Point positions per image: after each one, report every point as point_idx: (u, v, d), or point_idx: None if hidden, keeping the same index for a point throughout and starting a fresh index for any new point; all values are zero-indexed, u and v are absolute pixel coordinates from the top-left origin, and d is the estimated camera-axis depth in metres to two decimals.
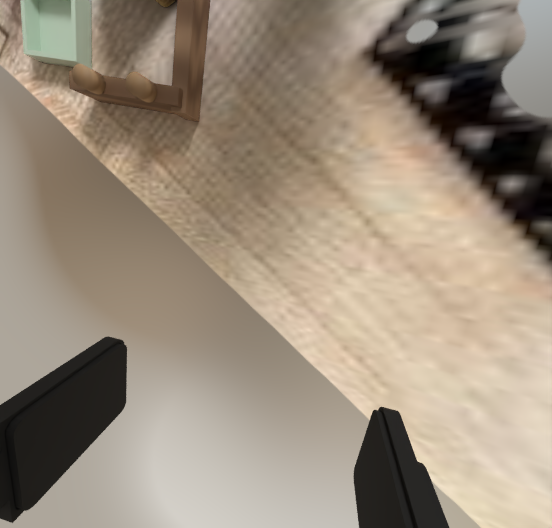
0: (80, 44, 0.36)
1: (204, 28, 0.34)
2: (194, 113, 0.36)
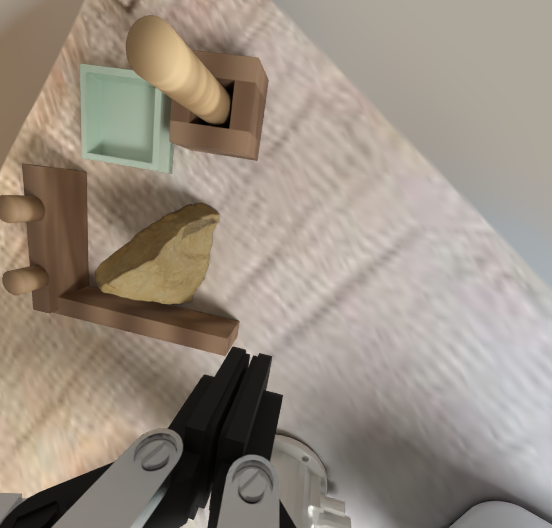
0: None
1: None
2: None
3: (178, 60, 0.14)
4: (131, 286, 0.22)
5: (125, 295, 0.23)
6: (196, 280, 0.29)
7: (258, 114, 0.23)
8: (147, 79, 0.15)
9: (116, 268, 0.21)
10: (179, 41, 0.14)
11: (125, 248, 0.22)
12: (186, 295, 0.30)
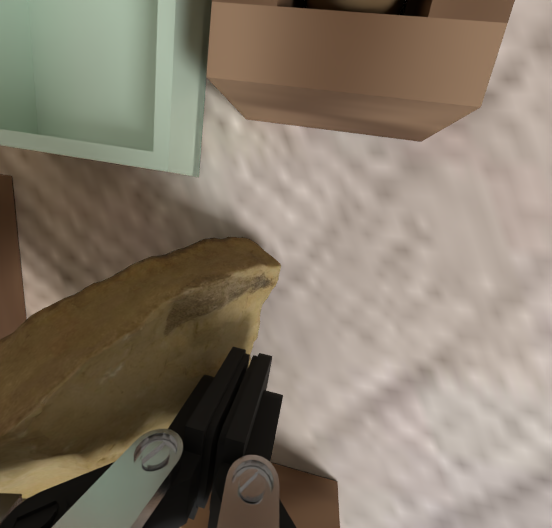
0: (44, 152, 0.11)
1: None
2: None
3: None
4: None
5: None
6: None
7: None
8: None
9: None
10: None
11: None
12: None
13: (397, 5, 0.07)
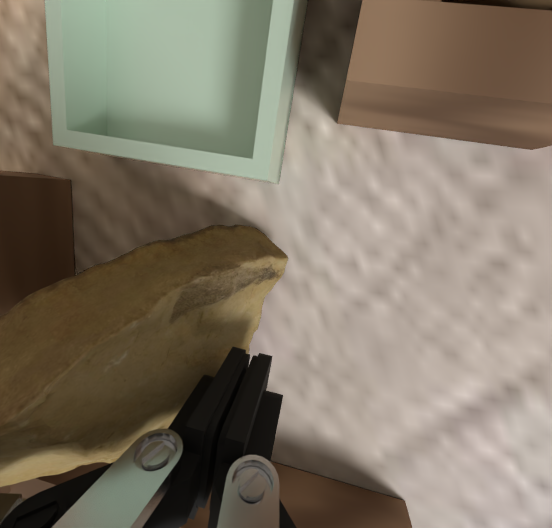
0: None
1: None
2: None
3: None
4: None
5: None
6: None
7: None
8: None
9: None
10: None
11: None
12: None
13: None
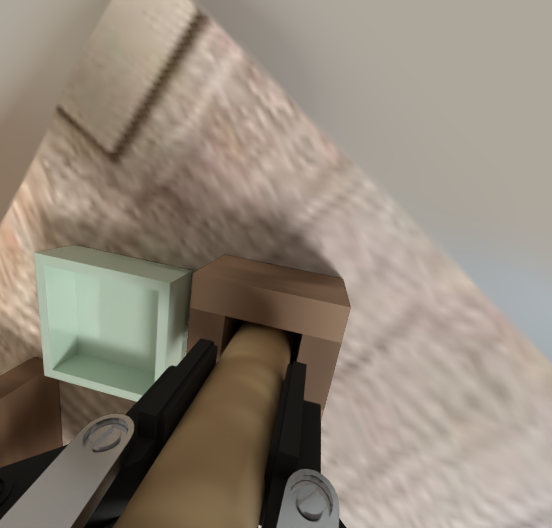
0: None
1: None
2: None
3: None
4: None
5: None
6: None
7: None
8: None
9: None
10: None
11: None
12: None
13: None
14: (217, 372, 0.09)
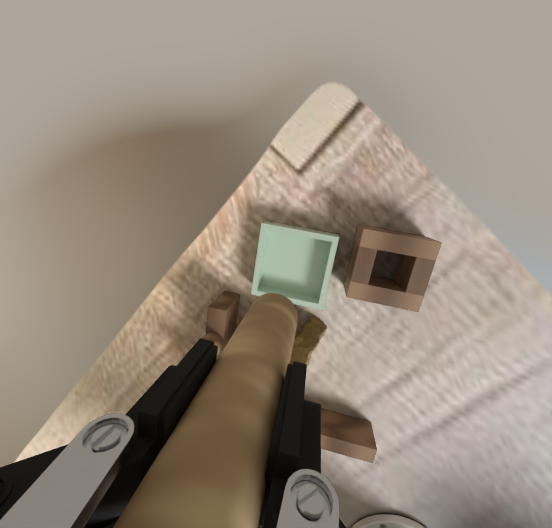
0: None
1: None
2: None
3: None
4: None
5: None
6: None
7: None
8: None
9: None
10: None
11: None
12: None
13: None
14: (217, 370, 0.09)
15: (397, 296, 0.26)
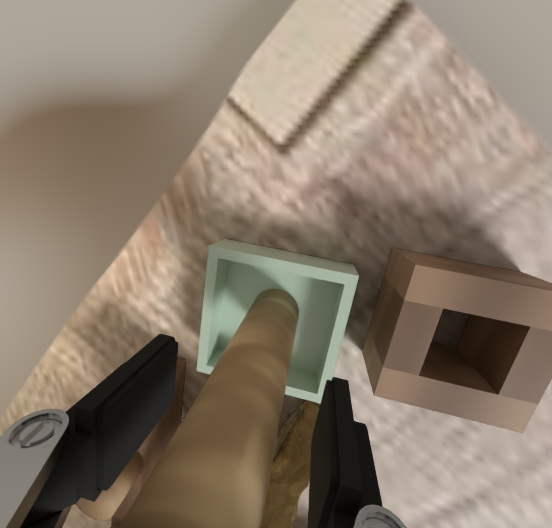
0: None
1: None
2: None
3: None
4: None
5: None
6: None
7: None
8: None
9: None
10: None
11: None
12: None
13: None
14: (226, 358, 0.10)
15: (480, 401, 0.13)
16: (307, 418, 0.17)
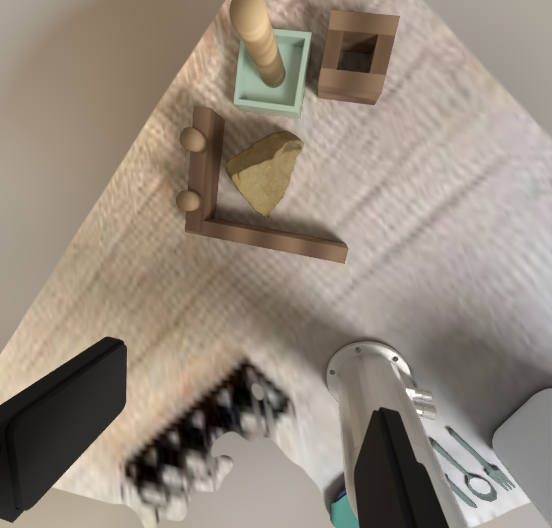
0: (252, 108, 0.33)
1: None
2: None
3: (264, 17, 0.22)
4: (248, 181, 0.30)
5: (241, 189, 0.30)
6: (278, 196, 0.36)
7: None
8: (243, 30, 0.22)
9: (243, 163, 0.28)
10: None
11: (246, 152, 0.29)
12: (268, 209, 0.37)
13: (278, 73, 0.31)
14: None
15: (362, 78, 0.29)
16: (290, 133, 0.34)
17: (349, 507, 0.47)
